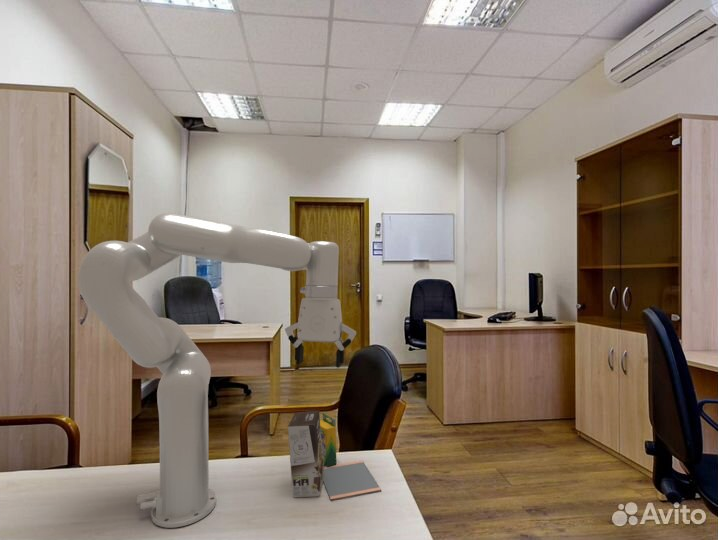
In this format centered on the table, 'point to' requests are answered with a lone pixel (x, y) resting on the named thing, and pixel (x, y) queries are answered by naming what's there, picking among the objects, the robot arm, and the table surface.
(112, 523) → the table surface
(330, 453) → the crayon box
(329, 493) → the felt mat
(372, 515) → the table surface
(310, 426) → the coffee box
